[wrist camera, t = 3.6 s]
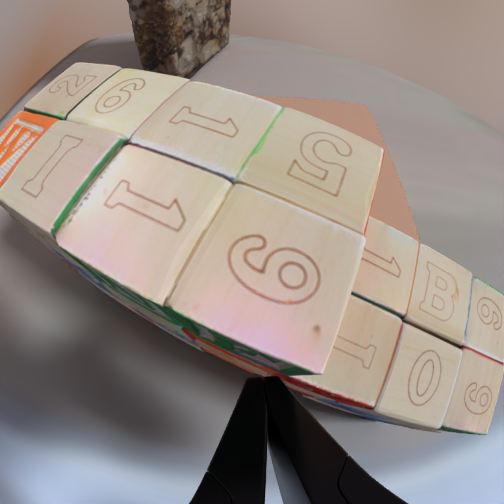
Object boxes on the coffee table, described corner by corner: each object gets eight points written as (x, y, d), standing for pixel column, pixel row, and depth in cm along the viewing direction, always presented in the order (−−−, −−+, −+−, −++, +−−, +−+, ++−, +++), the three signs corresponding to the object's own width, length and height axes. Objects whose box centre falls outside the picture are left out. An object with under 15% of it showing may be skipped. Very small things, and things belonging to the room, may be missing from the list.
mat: (416, 245, 20) (420, 242, 20) (73, 255, 19) (69, 252, 18) (365, 109, 27) (366, 105, 26) (116, 112, 25) (114, 108, 25)
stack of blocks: (411, 336, 17) (561, 277, 6) (382, 423, 15) (543, 442, 4) (134, 206, 19) (74, 56, 8) (85, 281, 17) (-37, 167, 6)
